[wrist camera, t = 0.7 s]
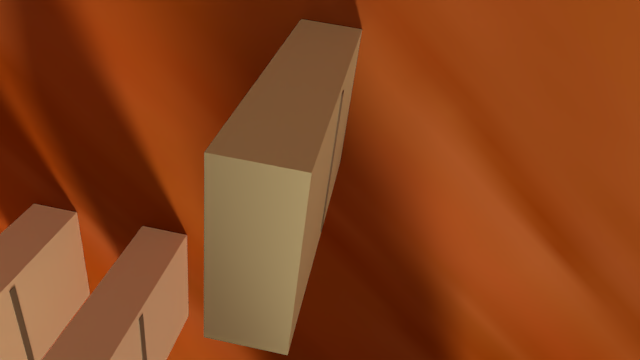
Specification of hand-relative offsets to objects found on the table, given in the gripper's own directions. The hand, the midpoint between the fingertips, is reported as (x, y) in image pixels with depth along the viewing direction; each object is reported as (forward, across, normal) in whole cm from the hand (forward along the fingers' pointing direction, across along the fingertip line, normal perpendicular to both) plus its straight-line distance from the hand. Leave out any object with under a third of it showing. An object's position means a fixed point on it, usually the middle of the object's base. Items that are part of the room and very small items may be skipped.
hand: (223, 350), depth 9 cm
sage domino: (+11, 0, 0) cm, 11 cm away
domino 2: (+11, +6, +10) cm, 16 cm away
